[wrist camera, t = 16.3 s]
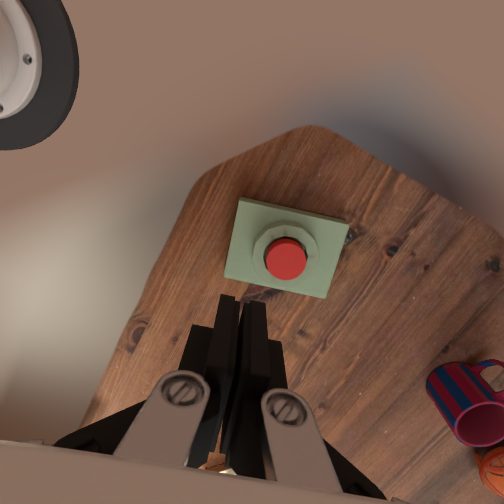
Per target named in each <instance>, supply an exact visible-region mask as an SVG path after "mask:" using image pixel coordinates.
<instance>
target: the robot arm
mask: <svg viewBox="0 0 504 504" xmlns="http://www.w3.org/2000/svg"><path fill="white" fill-rule="evenodd" d="M41 74H42V53H41V45H40V42H39V38H38V34H37V31H36V28H35V26H34V24H33V22H32V20H31V17H30V15H29V14H28V12H27V11H26V9H25V7H24V6H23V4H22V3H21V1H20V0H0V119H3V118H8V117H10V116H12V115H14V114H17V113H18V112H19V111H21V110H22V109H23V108H25V107H26V106H27V105H28V103H29V102H30V101H31V99H32V98H33V97H34V95H35V92H36V90H37V88H38V86H39V82H40V78H41ZM239 310H240V302H239V301H235V297H233V296H228V295H224V294H221V296H220V300H219V305H218V310H217V314H216V319H215V323H214V328H209V327H204V326H199V325H194V324H193V325H192V327H191V330H190V333H189V337H188V340H187V343H186V346H185V349H184V352H183V355H182V359H181V362H180V365H179V368H178V370H176V371H172V372H169V373H167V374H165V375H164V376H162V377H161V378H160V379H159V381H158V382H157V384H156V385H155V387H154V388H153V390H152V392H151V393H150V395H149V396H148V398H147V399H146V400H144V401H142V402H140V403H137V404H135V405H133V406H131V407H129V408H126V409H124V410H122V411H120V412H117V413H115V414H113V415H111V416H108V417H106V418H104V419H102V420H99V421H97V422H95V423H93V424H91V425H88V426H86V427H84V428H82V429H79V430H77V431H75V432H73V433H71V434H69V435H67V436H65V437H63V438H62V439H60V440H58V441H57V442H56V443H55V444H46V445H44V439H40V440H16V441H3V440H0V504H410V503H408V502H405V501H403V500H400V499H398V498H395V497H392V499H391V501H389V500H387V499H386V497H385V496H384V494H383V493H382V492H381V491H380V490H379V489H378V487H377V486H376V485H375V484H374V483H372V482H371V481H370V480H369V479H368V478H367V477H366V476H365V475H363V474H362V473H361V472H360V471H359V470H358V469H357V468H356V467H355V466H353V465H352V464H351V463H350V462H349V461H348V460H347V459H346V458H344V457H343V456H342V455H341V454H340V453H339V452H338V451H337V450H336V449H334V448H333V447H332V446H331V445H330V444H329V443H328V442H327V441H325V440H324V439H323V438H322V436H321V433H320V430H319V428H318V425H317V423H316V420H315V417H314V415H313V412H312V410H311V408H310V406H309V404H308V402H307V401H306V400H305V399H304V398H303V397H302V396H300V395H299V394H297V393H296V392H293V391H291V390H289V389H288V387H287V379H286V372H285V365H284V357H283V350H282V344H281V342H280V341H276V340H270V339H268V331H267V318H266V305H265V303H263V302H258V301H253V300H251V301H250V303H249V304H248V303H244V306H243V310H242V314H241V318H240V322H239ZM238 324H239V326H238ZM222 420H223V423H222ZM221 424H222V432H221V442H220V453H221V454H226V457H225V467H226V468H231V469H232V470H233V471H234V472H235V473H236V475H233V474H227V473H221V472H215V471H208V470H202V469H197V468H199V467H200V466H202V465H203V464H205V463H206V462H207V459H208V455H209V452H214V451H215V447H216V443H217V439H218V435H219V432H220V428H221Z"/></svg>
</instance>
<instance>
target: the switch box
mask: <svg viewBox="0 0 504 504" xmlns="http://www.w3.org/2000/svg"><path fill="white" fill-rule="evenodd" d="M348 228H349V224H348V223H347V222H346V221H345V220H342V219H338V218H333V217H329V216H324V215H320V214H315V213H311V212H306V211H302V210H298V209H293V208H289V207H284V206H280V205H275V204H271V203H266V202H262V201H257V200H253V199H249V198H244V197H240V199H239V203H238V208H237V212H236V217H235V222H234V227H233V232H232V236H231V241H230V246H229V251H228V256H227V261H226V265H225V270H224V275H223V277H225V278H229V279H234V280H239V281H244V282H248V283H253V284H258V285H262V286H267V287H272V288H276V289H281V290H286V291H290V292H295V293H300V294H305V295H309V296H314V297H319V298H323V299H325V298H326V296H327V292H328V289H329V286H330V283H331V280H332V277H333V274H334V271H335V268H336V265H337V262H338V259H339V256H340V253H341V250H342V247H343V244H344V241H345V237H346V234H347V231H348ZM283 238H288V239H293V240H295V241H296V242H298V243H299V244H300V245H301V246H302V248H303V251H304V253H305V256H306V266H305V269H304V271H303V272H302V273H301V274H300V275H299V276H298V277H296V278H294V279H291V280H281V279H278V278H276V277H274V276H273V275H272V274H271V273H270V272H269V270H268V268H267V263H266V254H267V250H268V248H269V247H270V245H271V244H272V243H273V242H275V241H277V240H279V239H283Z"/></svg>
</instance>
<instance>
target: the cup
mask: <svg viewBox="0 0 504 504" xmlns="http://www.w3.org/2000/svg"><path fill="white" fill-rule="evenodd" d="M493 365H500V366H502V367H503V368H504V363H503V362H501V361H499V360H495V359H489V360H485V361H482V362H480V363H478V364H476V365H474V366H473V367H471V366H470V365H467V364H464V363H448V364H445V365H442V366H440V367H439V368H437V369H436V370H434V371H433V372H432V374H431V375H430V376H429V378H428V380H427V384H426V389H427V393H428V395H429V396H430V398H431V399H432V401H433V402H434V404H435V406H436V407H437V409H438V410H439V412H440V413H441V415H442V416H443V418H444V419H445V421H446V422H447V424H448V425H449V427H450V429H451V430H452V432H453V433H454V435H455V436H456V438H457V439H458V440H459V441H460V442H461V443H463V444H465V445H468V446H472V447H486V446H490V445H494V444H496V443H498V442H500V441H502V440H503V439H504V390H503V391H500V392H495V391H494V390H493V389H492V388H491V386H490V385H489V384H488V383H487V382H486V381H485V380H484V379H483V378H482V376H481V375H480V372H481V371H482V370H483V369H485V368H487V367H489V366H493Z"/></svg>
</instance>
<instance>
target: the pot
mask: <svg viewBox="0 0 504 504" xmlns="http://www.w3.org/2000/svg"><path fill="white" fill-rule="evenodd" d="M476 454H477V455H476V456H475V459H476V462H477V465H478V468H479V474H480V478H481V481H482V482H483V484H484V485H485V486H486V487H487V488H488V489H489V490H490V491H492V492H493V493H495V494H497V495H499V496H502V497H504V447H497V448H495V449H493V450H491V451H489V452H488V453H487V454H486V455H485V456H484V457H483V458H481V457H480V456H479V454H478V453H476Z"/></svg>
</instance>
